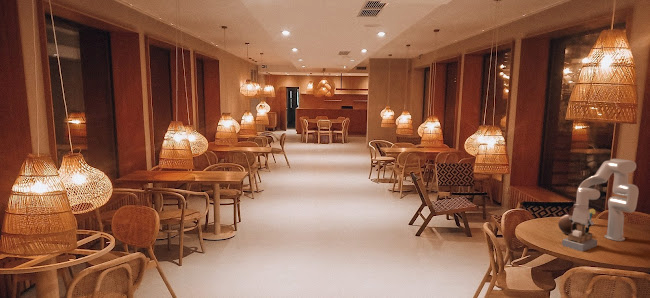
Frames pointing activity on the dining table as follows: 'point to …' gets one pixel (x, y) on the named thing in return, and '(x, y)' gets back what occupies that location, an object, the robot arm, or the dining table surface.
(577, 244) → the block
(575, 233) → the crate white
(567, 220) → the wooden sphere
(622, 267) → the dining table surface
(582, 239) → the wooden caddy
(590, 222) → the cup
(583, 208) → the robot arm
